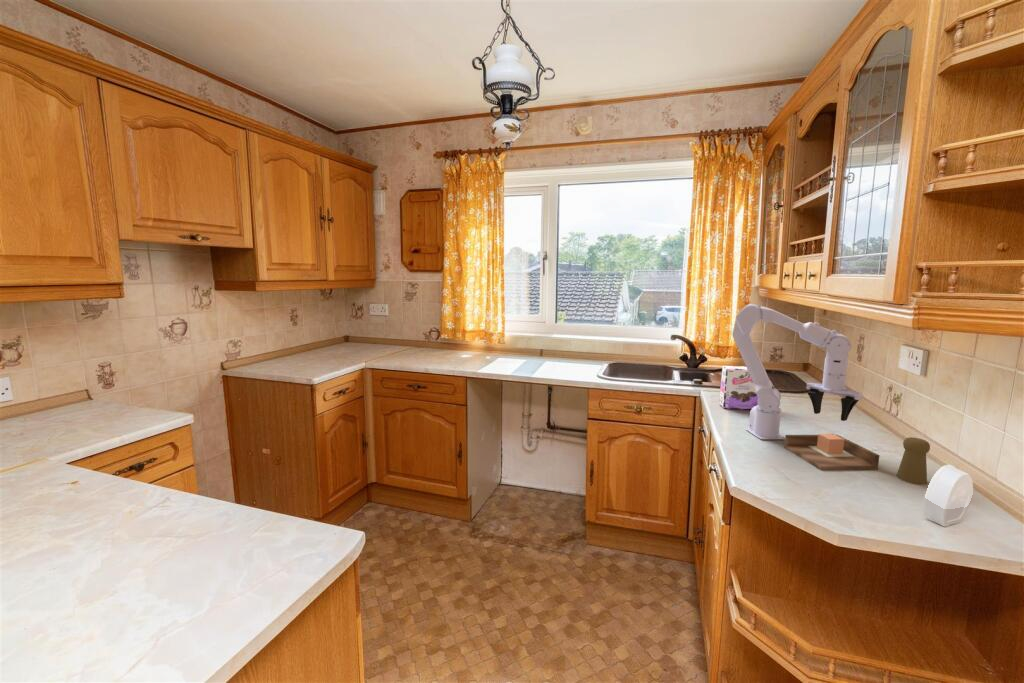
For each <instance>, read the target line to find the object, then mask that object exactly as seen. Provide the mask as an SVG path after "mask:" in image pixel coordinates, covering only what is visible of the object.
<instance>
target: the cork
mask: <svg viewBox="0 0 1024 683" xmlns="http://www.w3.org/2000/svg"><path fill="white" fill-rule="evenodd" d="M902 446H903V449H904V452H903V455H902V458H901V461H900V464H899V468H898V470H897V473H896V477H897V478H898V479H899V480H901V481H903V482H906V483H909V484H914V485H923V484H924V485H927V484H928V470H927V467H928V466H927V453H929V452H930V449H931V444H930V443H929V441H927V440H925V439H922V438H918V437H912V436H911V437H906V438H905V439H904V440H903V443H902Z"/></svg>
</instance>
